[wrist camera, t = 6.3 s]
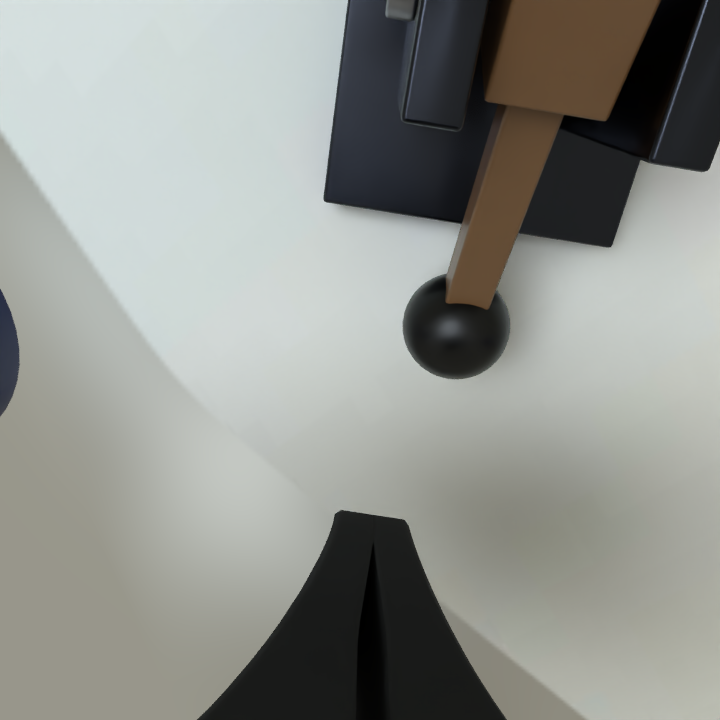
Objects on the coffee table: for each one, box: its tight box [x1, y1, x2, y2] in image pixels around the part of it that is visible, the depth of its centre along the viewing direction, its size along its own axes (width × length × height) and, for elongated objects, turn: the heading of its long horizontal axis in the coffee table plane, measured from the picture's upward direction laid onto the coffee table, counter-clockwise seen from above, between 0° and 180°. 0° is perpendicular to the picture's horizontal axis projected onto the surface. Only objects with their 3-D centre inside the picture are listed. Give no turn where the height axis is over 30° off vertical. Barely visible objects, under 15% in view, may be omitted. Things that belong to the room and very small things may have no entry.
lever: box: [403, 0, 661, 379], centre depth 14 cm, size 11×3×3 cm, turn 172°
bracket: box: [324, 0, 720, 248], centre depth 13 cm, size 10×8×8 cm
